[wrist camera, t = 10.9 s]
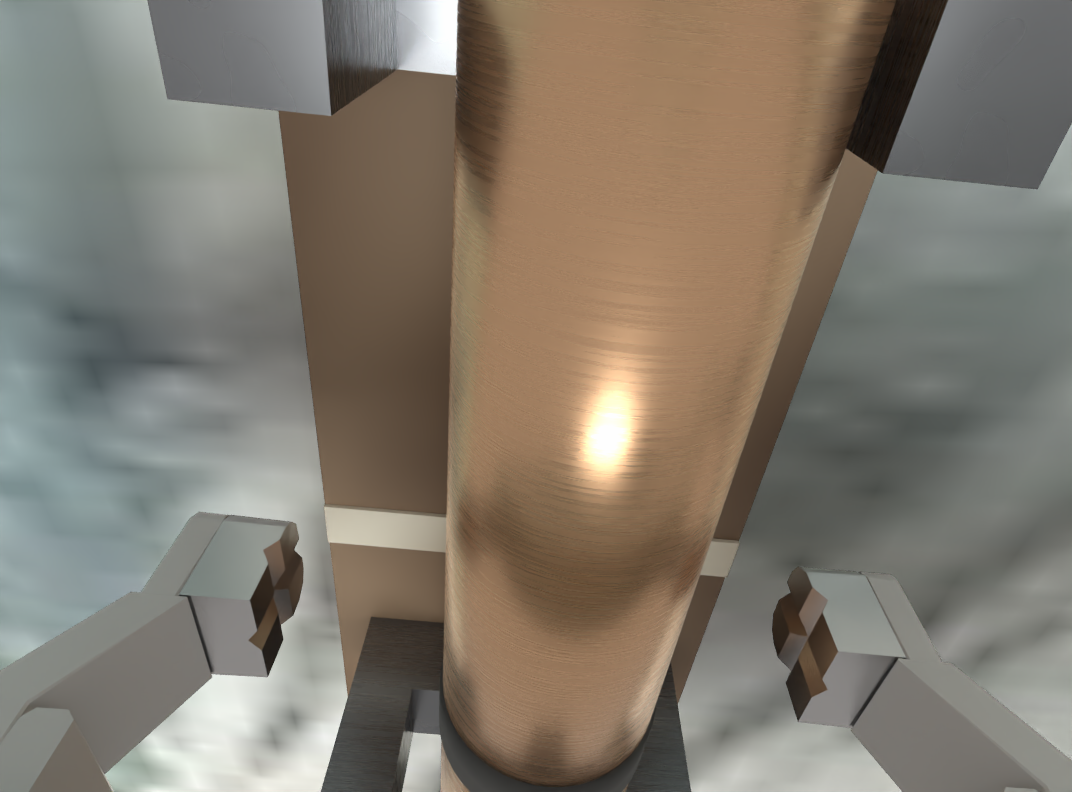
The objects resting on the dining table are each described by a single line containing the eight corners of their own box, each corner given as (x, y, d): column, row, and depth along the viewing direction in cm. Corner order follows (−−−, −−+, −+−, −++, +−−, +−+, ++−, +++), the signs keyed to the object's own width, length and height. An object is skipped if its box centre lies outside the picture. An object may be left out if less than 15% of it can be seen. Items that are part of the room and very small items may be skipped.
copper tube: (428, -400, 6) (540, -805, 3) (821, -306, 7) (1250, -516, 4) (427, 794, 18) (447, 983, 15) (570, 764, 19) (618, 935, 16)
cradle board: (1026, -330, 8) (1082, -365, 8) (660, 710, 22) (664, 744, 21) (245, -426, 8) (205, -475, 7) (358, 686, 22) (349, 718, 21)
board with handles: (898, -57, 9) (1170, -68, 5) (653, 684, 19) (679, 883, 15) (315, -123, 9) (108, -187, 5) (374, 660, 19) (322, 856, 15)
